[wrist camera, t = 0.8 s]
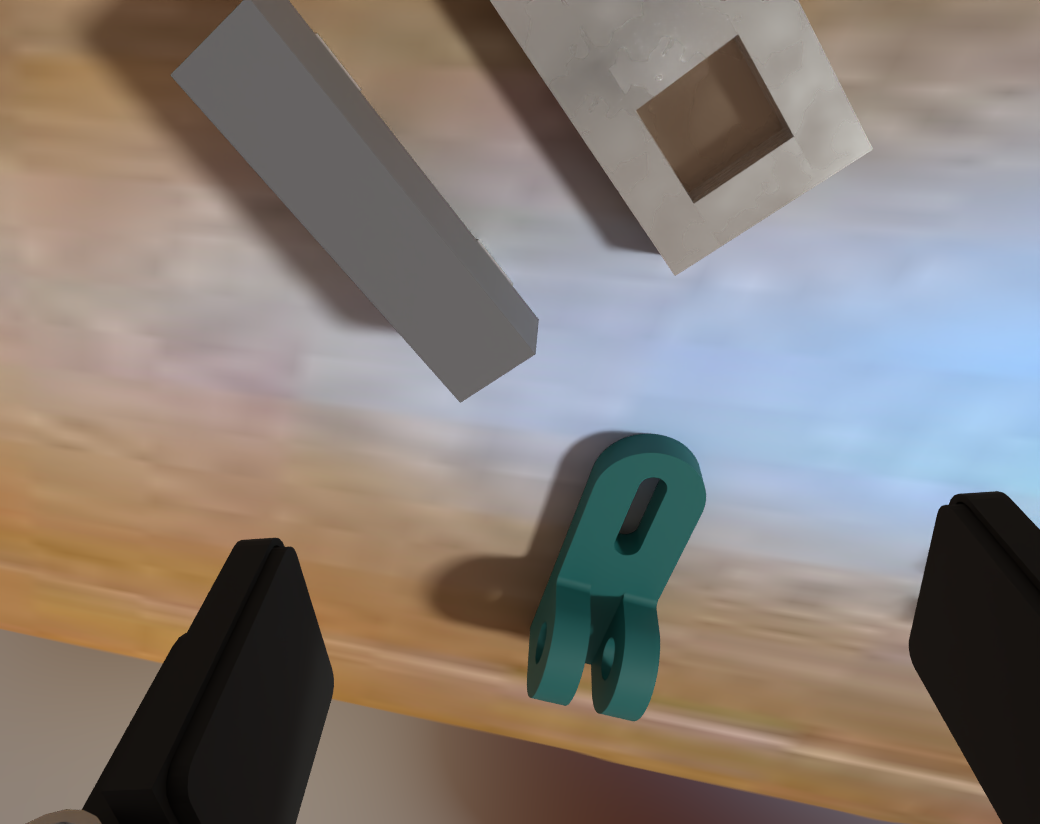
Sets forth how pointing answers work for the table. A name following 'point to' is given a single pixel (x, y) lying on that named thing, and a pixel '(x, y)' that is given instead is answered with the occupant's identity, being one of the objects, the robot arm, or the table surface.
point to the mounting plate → (694, 107)
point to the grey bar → (359, 192)
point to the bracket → (615, 578)
